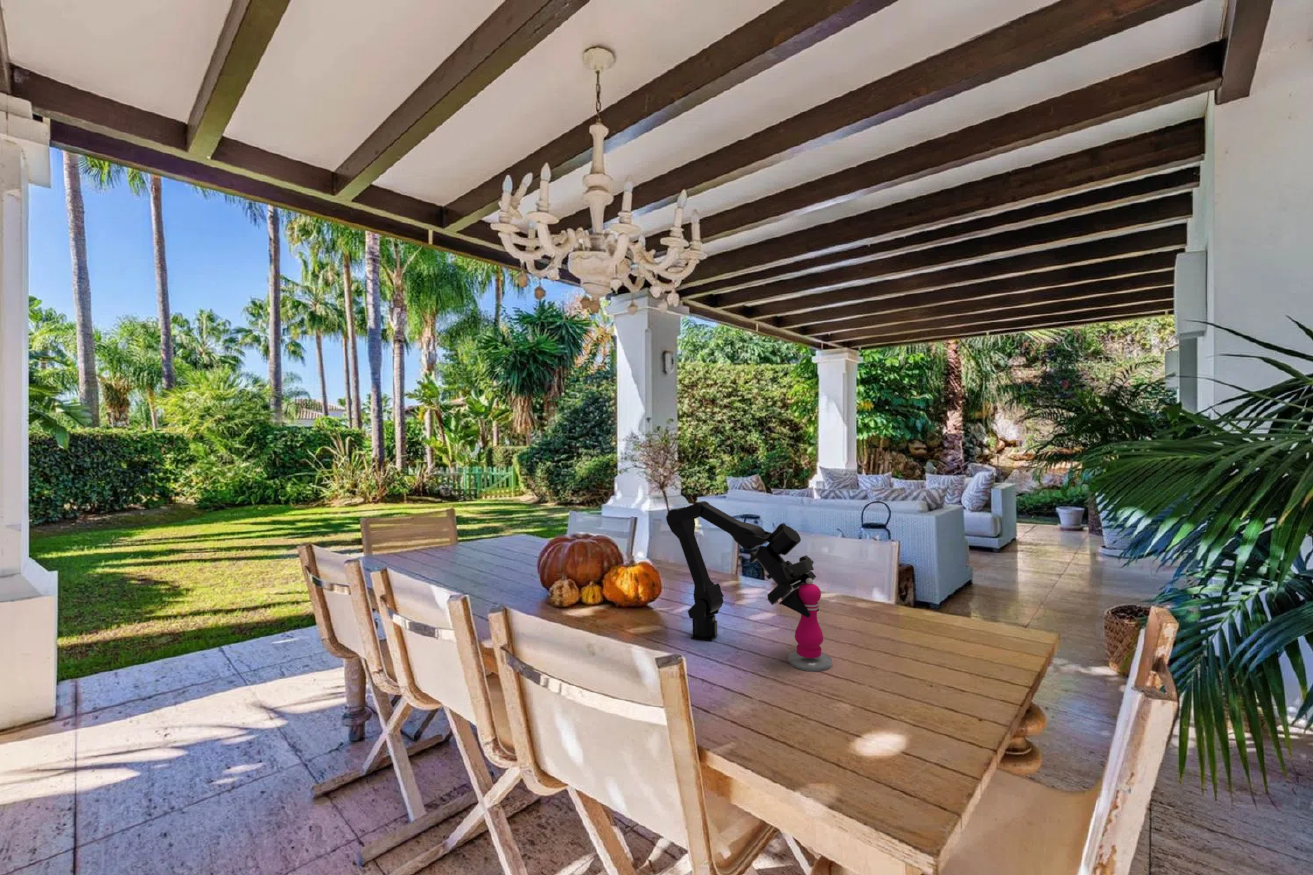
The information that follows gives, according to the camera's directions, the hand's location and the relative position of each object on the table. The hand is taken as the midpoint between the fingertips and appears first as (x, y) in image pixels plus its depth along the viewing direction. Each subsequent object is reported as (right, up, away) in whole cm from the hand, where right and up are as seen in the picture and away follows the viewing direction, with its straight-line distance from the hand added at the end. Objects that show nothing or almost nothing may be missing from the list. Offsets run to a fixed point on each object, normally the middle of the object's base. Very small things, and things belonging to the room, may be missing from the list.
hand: (813, 613), depth 151 cm
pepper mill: (-1, -11, +1) cm, 11 cm away
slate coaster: (-1, -13, +1) cm, 13 cm away
